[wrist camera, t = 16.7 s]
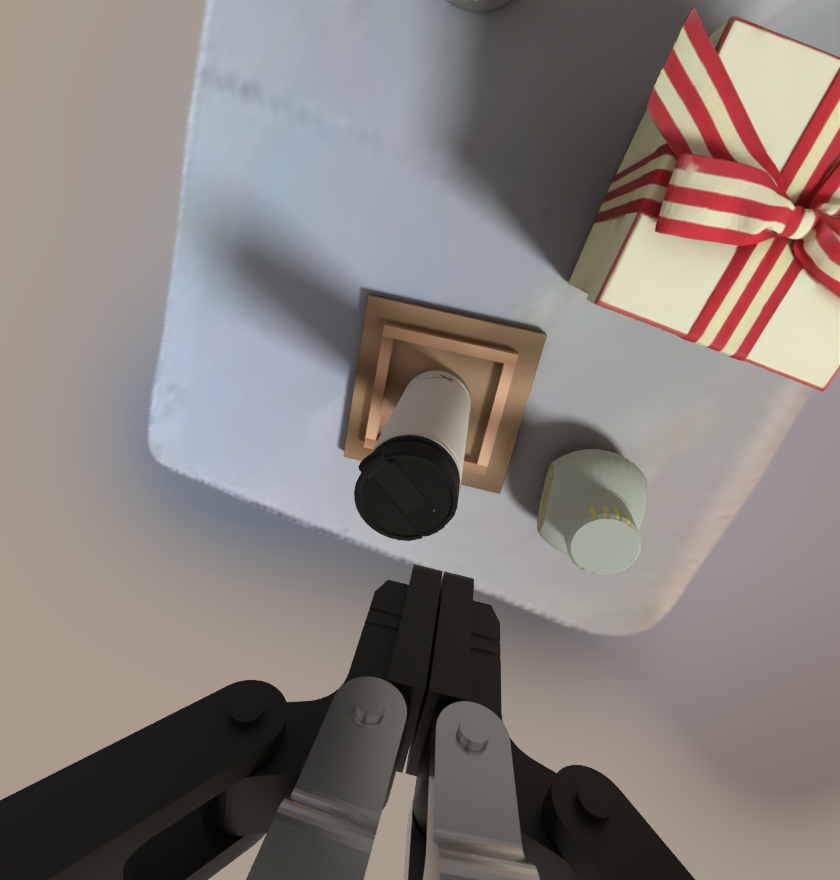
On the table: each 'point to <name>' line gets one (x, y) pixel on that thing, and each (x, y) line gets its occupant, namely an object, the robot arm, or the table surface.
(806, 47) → the gift box
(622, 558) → the air freshener
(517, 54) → the table surface
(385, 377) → the tan square plate
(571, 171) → the table surface
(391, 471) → the travel mug
